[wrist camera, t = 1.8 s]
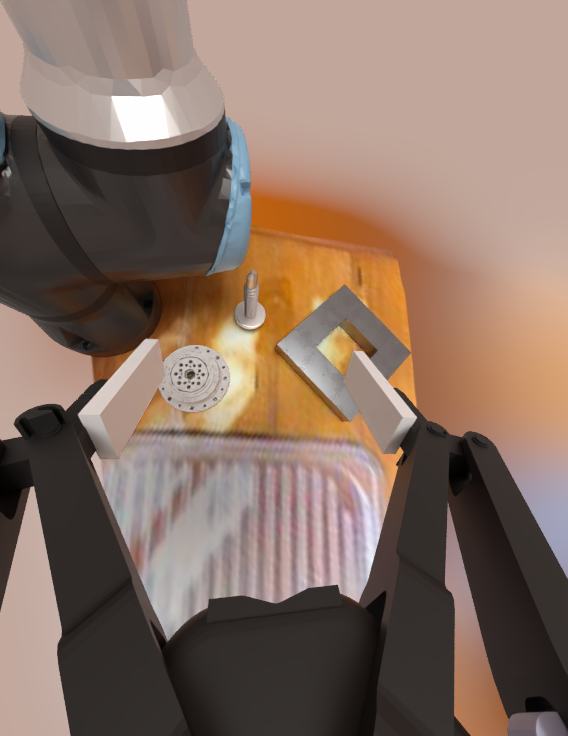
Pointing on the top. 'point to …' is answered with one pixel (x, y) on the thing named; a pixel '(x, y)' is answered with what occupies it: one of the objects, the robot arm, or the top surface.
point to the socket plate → (362, 330)
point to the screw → (250, 305)
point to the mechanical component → (209, 384)
